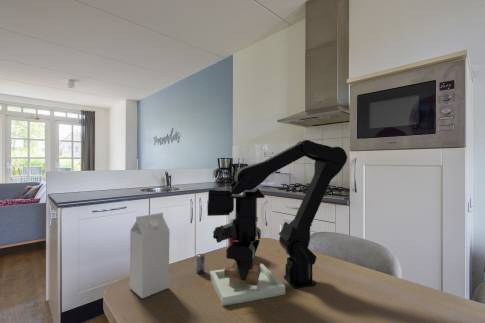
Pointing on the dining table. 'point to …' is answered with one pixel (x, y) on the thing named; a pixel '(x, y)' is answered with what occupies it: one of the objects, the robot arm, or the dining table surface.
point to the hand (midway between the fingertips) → (245, 273)
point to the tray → (246, 287)
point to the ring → (251, 276)
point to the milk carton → (149, 255)
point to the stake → (200, 264)
